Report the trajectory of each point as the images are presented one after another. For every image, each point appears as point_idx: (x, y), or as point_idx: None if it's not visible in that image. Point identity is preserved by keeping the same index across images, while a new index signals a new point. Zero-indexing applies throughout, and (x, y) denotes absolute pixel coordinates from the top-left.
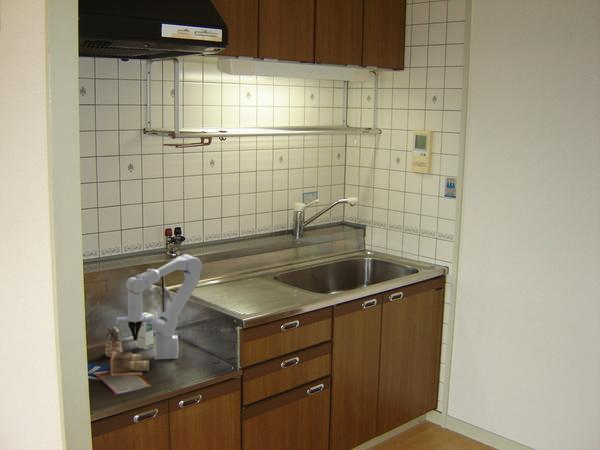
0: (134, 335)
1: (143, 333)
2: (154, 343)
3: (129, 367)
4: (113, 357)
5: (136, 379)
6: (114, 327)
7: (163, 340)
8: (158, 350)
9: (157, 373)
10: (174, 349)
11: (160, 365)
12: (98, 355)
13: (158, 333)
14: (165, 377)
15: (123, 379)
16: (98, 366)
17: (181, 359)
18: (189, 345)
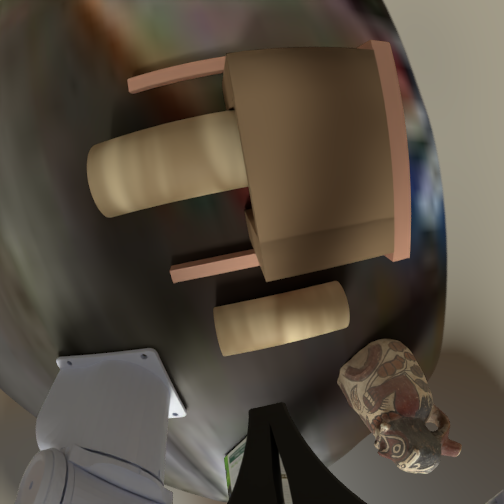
0: (281, 446)
1: None
2: (225, 464)
3: (225, 87)
4: (389, 108)
5: (152, 17)
6: (430, 468)
7: (81, 436)
8: (129, 392)
9: (53, 135)
10: (56, 395)
11: (81, 268)
12: (428, 342)
13: (129, 489)
14: (10, 93)
15: (235, 7)
16: (427, 213)
17: (40, 351)
18: None
